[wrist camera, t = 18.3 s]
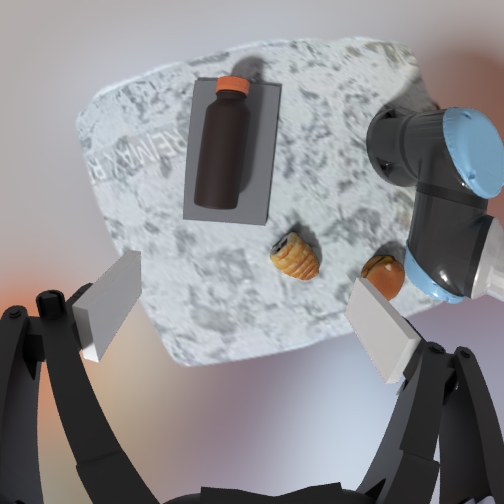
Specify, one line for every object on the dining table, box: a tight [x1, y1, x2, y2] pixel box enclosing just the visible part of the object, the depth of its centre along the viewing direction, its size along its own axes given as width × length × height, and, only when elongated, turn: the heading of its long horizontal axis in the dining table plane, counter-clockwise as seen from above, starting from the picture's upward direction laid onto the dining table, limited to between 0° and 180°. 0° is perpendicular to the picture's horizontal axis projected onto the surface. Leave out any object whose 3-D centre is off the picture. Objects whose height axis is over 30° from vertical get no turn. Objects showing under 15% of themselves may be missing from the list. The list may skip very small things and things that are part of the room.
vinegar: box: [194, 76, 251, 210], centre depth 38 cm, size 7×7×20 cm
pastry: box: [270, 232, 319, 280], centre depth 47 cm, size 9×7×4 cm
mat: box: [183, 80, 280, 226], centre depth 42 cm, size 14×24×1 cm, turn 174°
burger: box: [361, 255, 405, 301], centre depth 49 cm, size 10×9×5 cm
